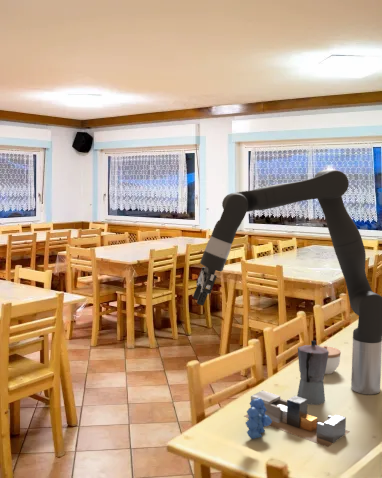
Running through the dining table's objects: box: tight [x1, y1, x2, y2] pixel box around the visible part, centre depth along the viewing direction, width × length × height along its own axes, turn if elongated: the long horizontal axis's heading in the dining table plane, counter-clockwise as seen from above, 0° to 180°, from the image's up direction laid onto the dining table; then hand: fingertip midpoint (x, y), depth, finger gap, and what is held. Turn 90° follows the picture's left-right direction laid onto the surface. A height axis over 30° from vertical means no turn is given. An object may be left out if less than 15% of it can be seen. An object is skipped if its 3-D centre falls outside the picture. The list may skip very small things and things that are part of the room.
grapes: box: [245, 398, 272, 440], centre depth 145 cm, size 12×7×12 cm, turn 156°
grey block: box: [271, 395, 318, 431], centre depth 155 cm, size 4×18×7 cm, turn 47°
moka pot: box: [296, 339, 329, 406], centre depth 169 cm, size 10×15×20 cm, turn 161°
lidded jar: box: [319, 345, 341, 375], centre depth 200 cm, size 11×11×9 cm
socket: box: [316, 413, 347, 444], centre depth 145 cm, size 7×5×5 cm
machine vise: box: [243, 389, 350, 448], centre depth 153 cm, size 12×27×7 cm, turn 47°
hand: (197, 301), depth 172 cm, fingers open, 8 cm apart
